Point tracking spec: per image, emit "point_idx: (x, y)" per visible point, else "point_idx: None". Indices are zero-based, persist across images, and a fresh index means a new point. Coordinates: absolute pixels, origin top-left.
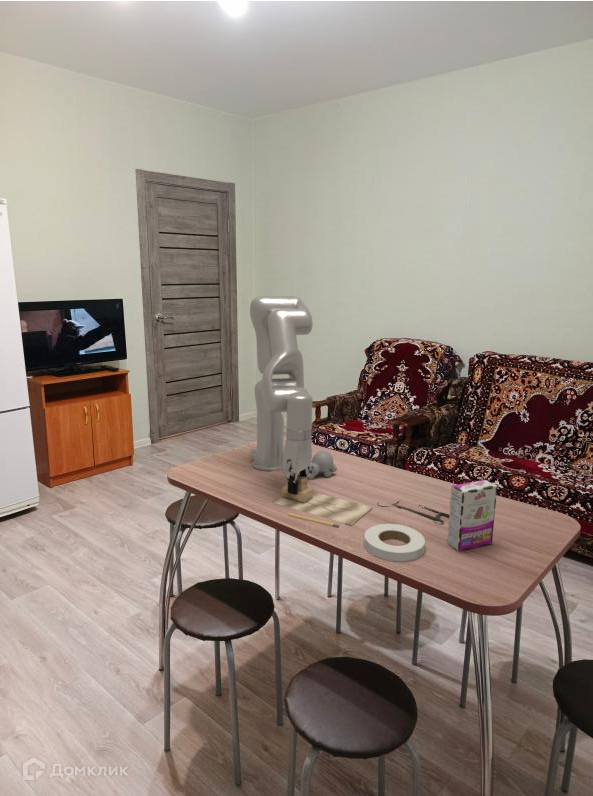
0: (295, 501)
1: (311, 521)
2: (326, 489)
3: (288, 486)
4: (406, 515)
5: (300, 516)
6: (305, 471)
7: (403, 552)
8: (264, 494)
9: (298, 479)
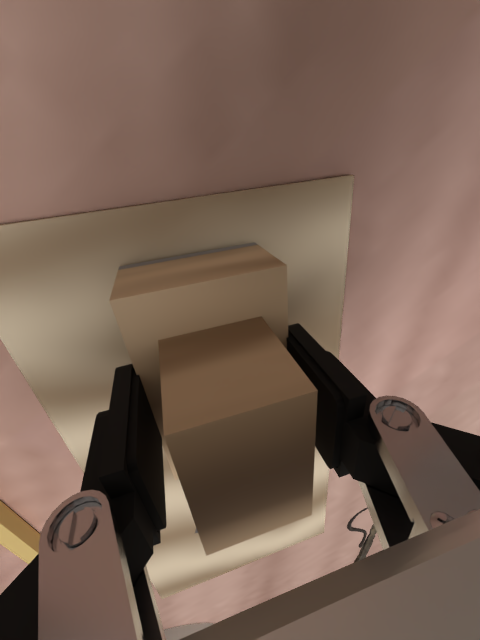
0: None
1: None
2: (408, 343)
3: (111, 418)
4: (327, 572)
5: (5, 540)
6: (379, 531)
7: None
8: (30, 24)
9: (210, 524)
